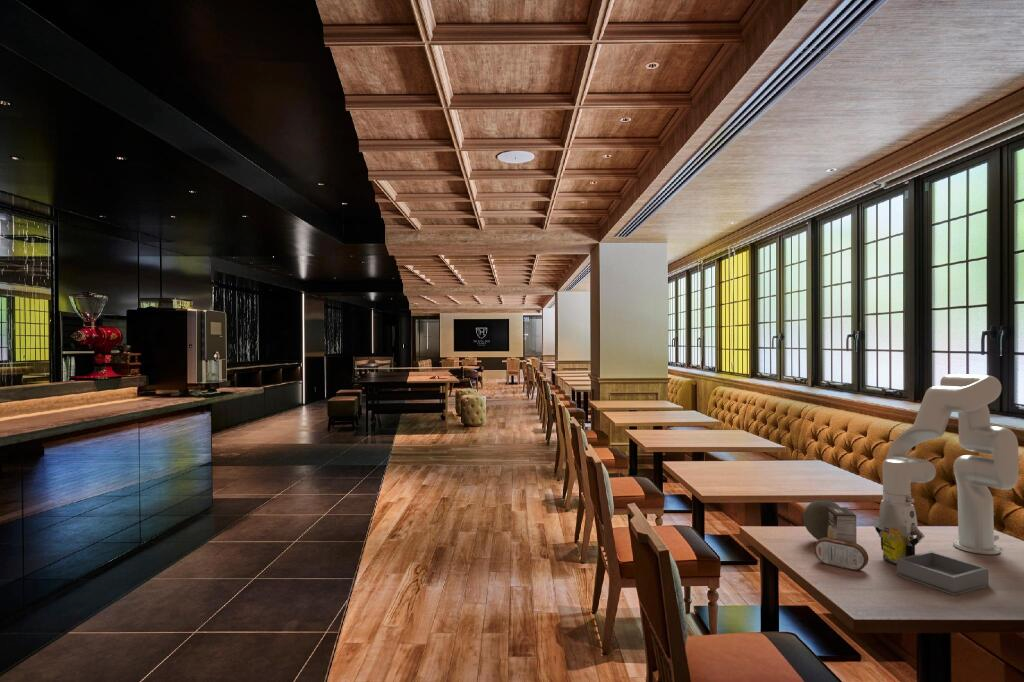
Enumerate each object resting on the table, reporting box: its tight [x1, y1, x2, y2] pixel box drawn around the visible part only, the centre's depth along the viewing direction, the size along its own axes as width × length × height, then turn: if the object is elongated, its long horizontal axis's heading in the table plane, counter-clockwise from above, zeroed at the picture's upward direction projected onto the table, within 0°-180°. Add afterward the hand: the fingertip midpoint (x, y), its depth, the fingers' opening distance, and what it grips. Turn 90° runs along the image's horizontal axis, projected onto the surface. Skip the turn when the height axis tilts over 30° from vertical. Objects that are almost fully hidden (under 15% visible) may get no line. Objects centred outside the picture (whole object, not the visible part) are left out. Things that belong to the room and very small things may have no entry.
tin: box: [813, 537, 869, 572], centre depth 186 cm, size 15×3×8 cm, turn 47°
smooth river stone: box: [802, 499, 841, 541], centre depth 208 cm, size 14×14×15 cm
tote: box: [896, 550, 990, 596], centre depth 174 cm, size 16×16×5 cm
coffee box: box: [827, 506, 858, 544], centre depth 192 cm, size 9×6×16 cm
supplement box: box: [882, 527, 913, 566], centre depth 189 cm, size 6×6×11 cm
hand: (897, 553), depth 189 cm, fingers closed on supplement box, 7 cm apart
